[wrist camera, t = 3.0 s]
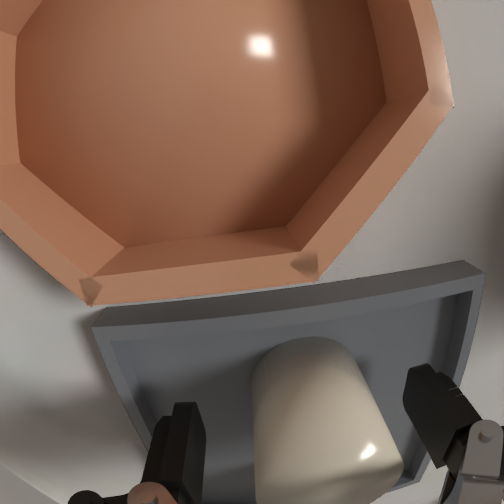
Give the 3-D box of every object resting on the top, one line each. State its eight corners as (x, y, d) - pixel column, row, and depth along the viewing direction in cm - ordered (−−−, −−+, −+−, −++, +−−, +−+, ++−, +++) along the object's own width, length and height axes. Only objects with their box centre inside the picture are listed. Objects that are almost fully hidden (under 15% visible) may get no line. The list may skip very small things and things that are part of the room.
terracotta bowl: (344, -90, 7) (367, -134, 3) (405, 230, 11) (457, 260, 8) (23, -28, 7) (-17, -53, 4) (41, 275, 11) (-8, 312, 8)
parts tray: (463, 260, 12) (485, 273, 10) (411, 465, 16) (419, 481, 15) (106, 307, 12) (90, 327, 10) (192, 499, 16) (190, 517, 15)
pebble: (358, 327, 12) (418, 430, 6) (353, 406, 13) (388, 502, 8) (243, 344, 12) (246, 465, 6) (257, 421, 13) (263, 526, 8)
